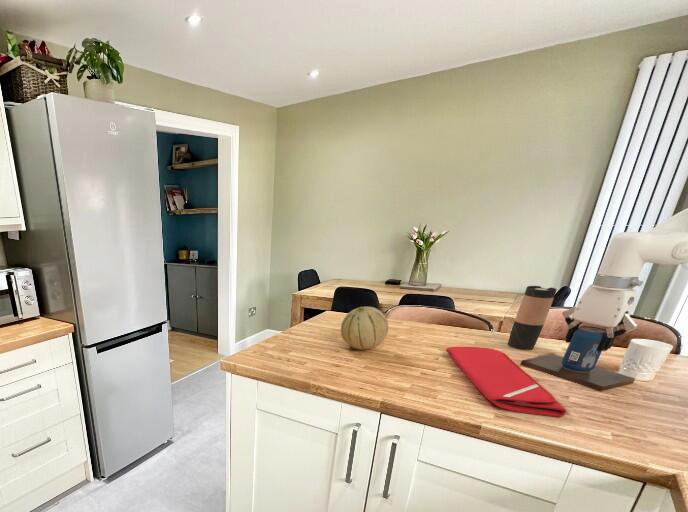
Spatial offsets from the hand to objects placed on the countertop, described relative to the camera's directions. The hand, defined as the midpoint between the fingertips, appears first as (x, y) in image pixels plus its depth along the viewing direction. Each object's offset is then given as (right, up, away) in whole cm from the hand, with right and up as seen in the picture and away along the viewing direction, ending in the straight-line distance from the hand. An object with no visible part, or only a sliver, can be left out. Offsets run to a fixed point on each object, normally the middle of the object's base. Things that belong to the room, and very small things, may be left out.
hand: (586, 345), depth 112 cm
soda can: (0, -7, +3) cm, 7 cm away
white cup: (+15, -9, +1) cm, 17 cm away
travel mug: (+3, +2, +25) cm, 25 cm away
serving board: (0, -8, +4) cm, 9 cm away
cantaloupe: (-52, +1, +26) cm, 58 cm away
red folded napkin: (-25, -10, +1) cm, 27 cm away
